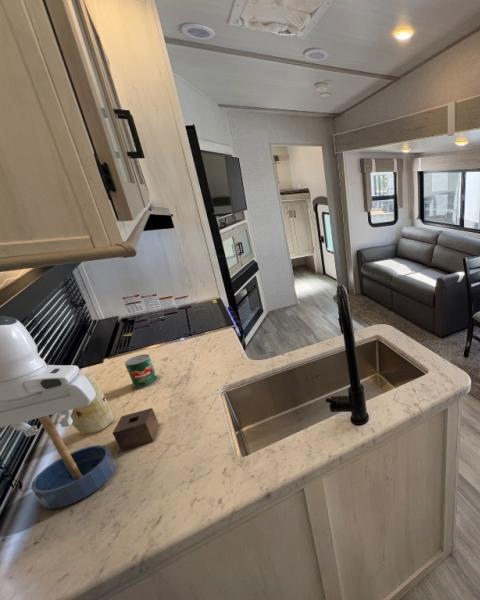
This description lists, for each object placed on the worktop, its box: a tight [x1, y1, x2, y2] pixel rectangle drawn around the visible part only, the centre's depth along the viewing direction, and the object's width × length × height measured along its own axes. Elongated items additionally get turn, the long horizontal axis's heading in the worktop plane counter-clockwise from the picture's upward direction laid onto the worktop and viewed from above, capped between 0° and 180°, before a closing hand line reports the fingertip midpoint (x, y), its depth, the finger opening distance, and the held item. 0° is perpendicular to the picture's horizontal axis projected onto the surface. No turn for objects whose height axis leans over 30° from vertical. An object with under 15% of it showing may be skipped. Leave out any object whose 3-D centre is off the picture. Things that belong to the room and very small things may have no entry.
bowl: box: [30, 444, 117, 510], centre depth 81 cm, size 14×14×6 cm
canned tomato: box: [124, 353, 159, 389], centre depth 125 cm, size 8×8×11 cm
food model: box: [71, 372, 115, 434], centre depth 99 cm, size 10×7×20 cm
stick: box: [37, 415, 82, 481], centre depth 78 cm, size 2×2×22 cm
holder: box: [112, 407, 160, 452], centre depth 96 cm, size 8×8×7 cm
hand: (50, 429), depth 76 cm, fingers open, 5 cm apart
